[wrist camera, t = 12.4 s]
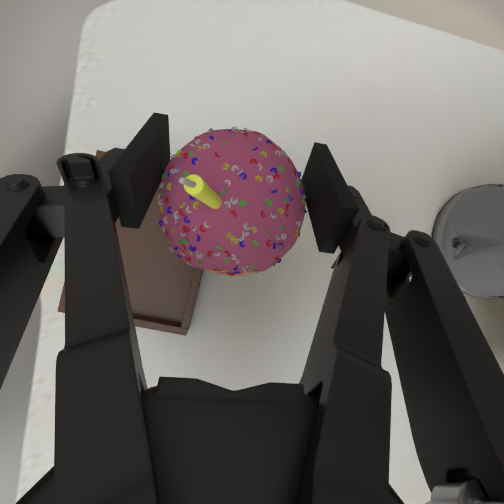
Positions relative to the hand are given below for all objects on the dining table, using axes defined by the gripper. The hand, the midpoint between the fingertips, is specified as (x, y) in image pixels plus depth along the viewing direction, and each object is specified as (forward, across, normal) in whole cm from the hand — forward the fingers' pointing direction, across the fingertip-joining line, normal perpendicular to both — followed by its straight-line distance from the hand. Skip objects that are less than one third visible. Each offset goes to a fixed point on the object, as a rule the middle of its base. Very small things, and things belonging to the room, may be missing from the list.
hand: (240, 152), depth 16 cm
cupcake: (+1, 0, -5) cm, 5 cm away
